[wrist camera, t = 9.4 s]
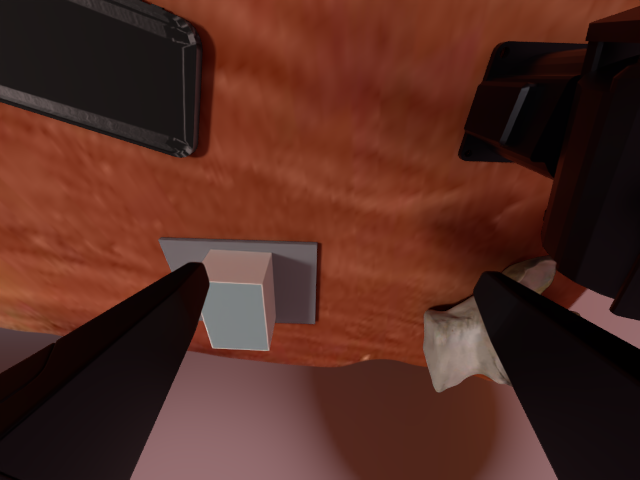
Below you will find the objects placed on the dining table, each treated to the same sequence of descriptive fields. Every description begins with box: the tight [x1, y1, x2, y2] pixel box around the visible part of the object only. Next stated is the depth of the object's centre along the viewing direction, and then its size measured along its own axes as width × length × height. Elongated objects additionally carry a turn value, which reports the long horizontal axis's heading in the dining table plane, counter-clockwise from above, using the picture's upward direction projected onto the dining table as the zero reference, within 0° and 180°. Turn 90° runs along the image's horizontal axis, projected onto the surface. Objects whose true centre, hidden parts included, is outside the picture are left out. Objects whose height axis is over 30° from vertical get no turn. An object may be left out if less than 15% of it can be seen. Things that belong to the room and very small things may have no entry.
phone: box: [0, 0, 203, 158], centre depth 14 cm, size 8×1×15 cm
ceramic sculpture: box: [423, 255, 580, 392], centre depth 23 cm, size 11×9×15 cm
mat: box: [159, 237, 317, 324], centre depth 25 cm, size 14×11×1 cm
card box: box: [201, 249, 276, 351], centre depth 23 cm, size 9×6×4 cm, turn 177°
